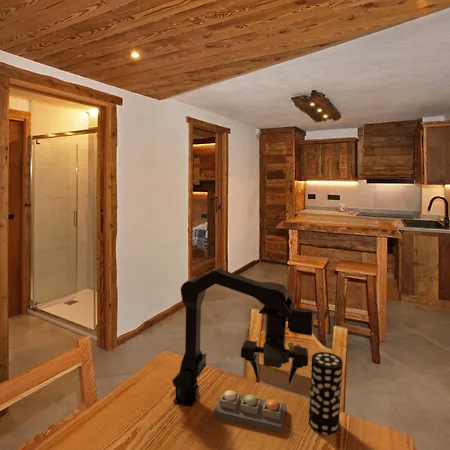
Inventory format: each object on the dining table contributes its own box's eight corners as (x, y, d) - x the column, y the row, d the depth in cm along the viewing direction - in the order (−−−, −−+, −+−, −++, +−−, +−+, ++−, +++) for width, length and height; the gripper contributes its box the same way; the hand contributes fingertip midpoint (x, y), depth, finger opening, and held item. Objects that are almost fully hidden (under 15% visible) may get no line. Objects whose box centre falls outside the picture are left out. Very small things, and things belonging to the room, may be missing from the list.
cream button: (222, 401, 104) (223, 395, 104) (226, 395, 107) (226, 389, 107) (233, 404, 103) (233, 398, 103) (236, 397, 106) (237, 391, 106)
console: (213, 416, 102) (213, 404, 101) (224, 396, 111) (224, 385, 111) (281, 433, 96) (281, 420, 95) (286, 410, 105) (286, 398, 105)
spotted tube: (340, 437, 95) (344, 369, 92) (309, 432, 96) (312, 365, 94) (336, 416, 103) (340, 353, 100) (308, 412, 104) (311, 350, 102)
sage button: (243, 406, 102) (243, 400, 102) (246, 399, 105) (246, 393, 105) (254, 409, 101) (255, 402, 101) (257, 402, 104) (257, 396, 104)
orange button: (265, 411, 100) (265, 405, 100) (267, 404, 103) (267, 398, 103) (277, 414, 99) (277, 407, 99) (279, 406, 102) (279, 400, 102)
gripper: (238, 337, 92) (236, 392, 94) (309, 346, 88) (306, 403, 90) (244, 321, 103) (243, 370, 105) (309, 328, 99) (306, 379, 101)
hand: (273, 380), depth 100 cm, fingers open, 9 cm apart
